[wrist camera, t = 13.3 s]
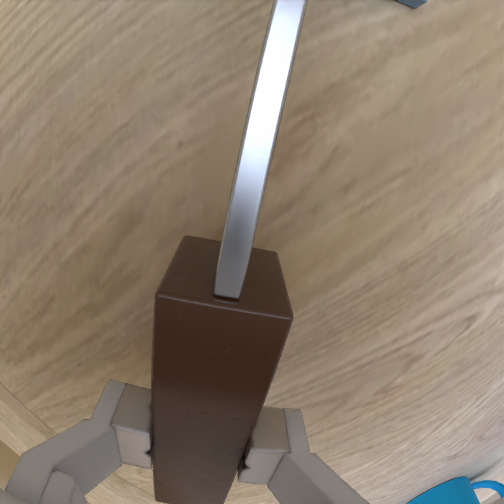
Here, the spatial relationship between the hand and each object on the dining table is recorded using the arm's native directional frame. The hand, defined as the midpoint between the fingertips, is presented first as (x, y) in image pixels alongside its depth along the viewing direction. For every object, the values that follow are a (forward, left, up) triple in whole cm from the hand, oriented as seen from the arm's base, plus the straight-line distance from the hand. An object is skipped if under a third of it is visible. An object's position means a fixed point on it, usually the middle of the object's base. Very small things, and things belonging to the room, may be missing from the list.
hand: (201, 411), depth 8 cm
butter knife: (0, +6, -2) cm, 6 cm away
